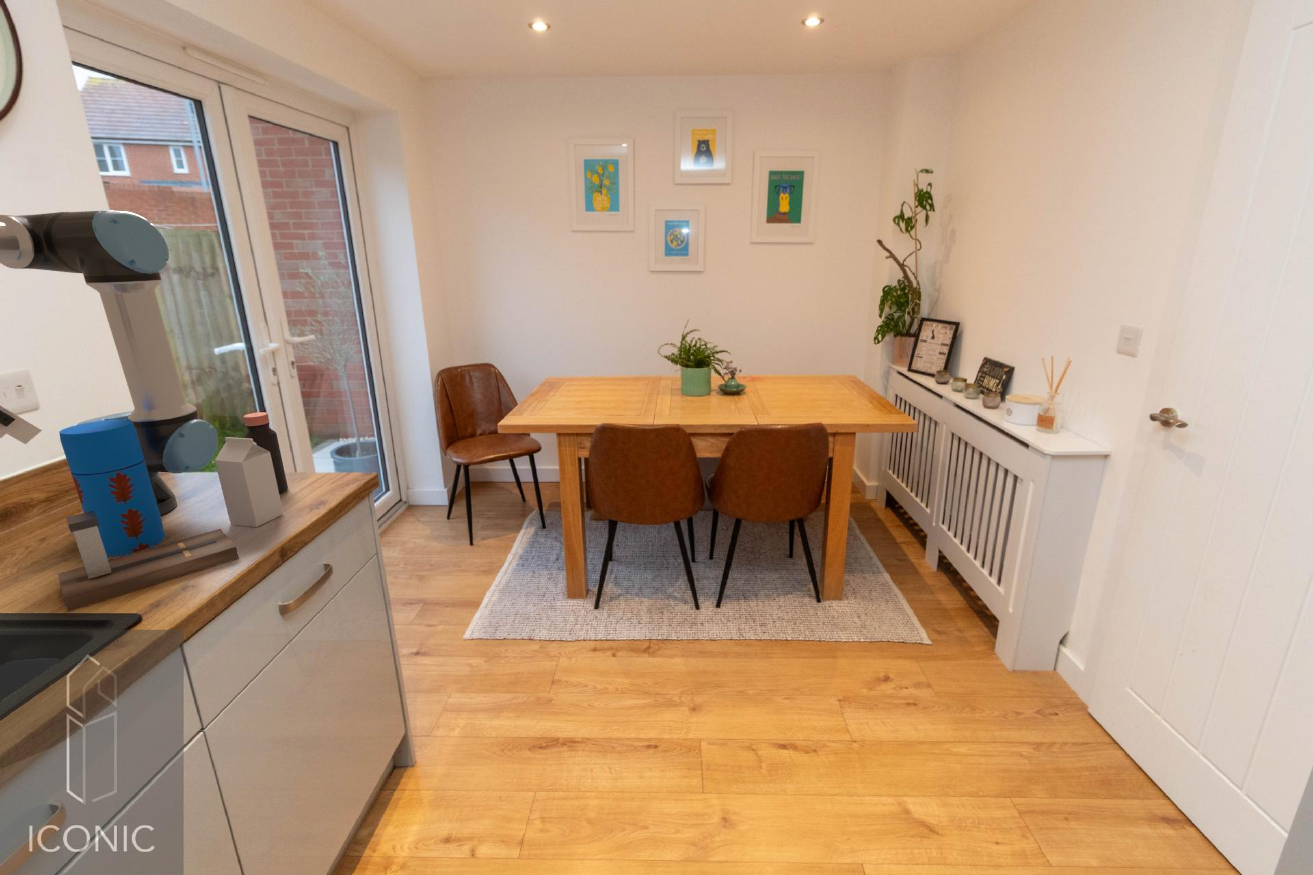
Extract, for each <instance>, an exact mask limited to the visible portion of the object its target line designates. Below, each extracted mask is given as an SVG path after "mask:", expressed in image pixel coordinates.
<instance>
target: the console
mask: <svg viewBox="0 0 1313 875" xmlns="http://www.w3.org/2000/svg"><path fill="white" fill-rule="evenodd" d="M237 559H240V557H239V553H238V549H237V546H236V545H235V543H233V541H232V540H231V539H230V538H229V537H228V536H227V534H226V533H225V532H224V531H223V530H222V529H221V528H218V529H215V530H210V531H206V532H203V533H200V534H196V535H193V536H189V537H186V538H182V539H179V540H174V541H171V542H167V543H165V544H160V545H157V546H156V545H155V546H152V547H150V548H148V549H144V550H141V551H138V552H134V553H131V554H126V555H120V556H115V557H113V558H109V559H108V562H109V565H110V568H111V571H112V572H111V573H108V574H104V575H101V576H97V577H94V578H90V579H89V578H88V575H87V572H86V569H85V566H84V565H83V566H81V567H77V568H74V569H70V570H67V571H66V570H65V571H63V572H60V573H57V576H58V579H59V586H60V589H61V595H62V600H63V602H64V604H65V607H66V610H67V612H71V611H75V610H78V609H81V608H84V607H87V606H91V605H95V604H97V603H100V602H103V601H106V600H111V599H112V598H117V597H119V596H123V595H126V594H129V593H131V592H132V593H133V592H135V591H139V590H141V589H145V588H147V587H151V586H155V585H157V584H161V583H164V582H167V581H171V580H173V579H174V580H175V579H177V578H180V577H183V576H187V575H189V574H193V573H196V572H199V571H204V570H205V569H209V568H212V567H216V566H219V565H222V564H225V563H229V562H232V561H234V560H237Z"/></svg>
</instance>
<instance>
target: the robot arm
mask: <svg viewBox="0 0 1313 875" xmlns="http://www.w3.org/2000/svg"><path fill="white" fill-rule="evenodd" d="M169 259H170V251H169V247H168V243H167V242H166V240H165V237H164V235H163V234H162V233H161V232H160V230H159V229H158V228H157V227H156V226H155V224H153V223H151V222H150V221H149V220H148V219H147V218H145V217H144V216H141V215H139V214H137V213H135V212H131V211H124V210H112V209H107V210H105V209H104V210H91V211H58V212H49V213H47V212H46V213H38V214H37V213H36V214H25V215H23V214H22V215H20V214H19V215H8V214H0V264H1V265H3V266H5V267H7V268H8V269H9V268H10V269H13V270H21V269H22V270H26V269H27V270H40V271H42V270H43V271H50V272H61V273H71V274H82V275H83V278H84V281H85V282H84V283H85V284H86V285H87V286H89V287H90V288H92V289H94V290H95V291H97V293H98V294H99V296H100V299H101V303H102V306H103V309H104V312H105V315H106V319H107V323H108V326H109V330H110V332H111V336H112V338H113V341H114V346H115V348H116V352H117V354H118V358H119V361H120V365H121V368H122V372H123V375H124V377H125V381H126V384H127V387H128V392H129V394H130V397H131V401H132V404H133V408H134V409H133V410H130V411H124V412H123V411H122V412H117V413H112V414H108V415H103V416H98V417H93V418H90V419H86V420H83V421H80V422H79V423H77V424H76V425H80V424H85V423H91V422H97V421H105V420H131V421H132V422H133V424H134V427H135V429H136V431H137V435H138V438H139V442H140V445H141V449H142V452H143V456H144V460H145V463H146V467H147V470H148V474H149V477H150V481H151V484H152V488H153V491H154V495H155V498H156V502H157V505H158V509H159V512H160V516H162V515H165V514H167V513H169V512H170V511H173V510H174V509H175V508H176V507H177V506H178V501H177V498H176V495H175V493H174V492H173V491H172V489H171V487H169V485H168V484H167V483H166V482H165V481H164V479H163V478H162V476H161V475H160V473H166V474H167V473H168V474H169V473H170V474H183V473H195V472H198V471H200V470H203V469H204V468H205V467H206V466H208V465H209V464H210V463H211V461H212V460H213V457H214V456H215V455H216V452H217V450H218V446H219V437H218V432H217V430H216V428H215V426H213V425H212V424H210V423H209V421H206V420H203V419H200V417H199V413H198V410H197V408H196V406H194V405H193V404H191V403H188V402H187V401H186V397H185V394H184V391H183V388H182V384H181V380H180V376H179V373H178V369H177V366H176V362H175V359H174V355H173V352H172V347H171V344H170V340H169V336H168V333H167V328H166V326H165V322H164V319H163V314H162V310H161V308H160V304H159V299H158V296H157V293H156V291H155V290H156V288H157V287H158V286H159V285H160V284H161V282H162V278H161V277H162V276H161V273H160V272H161V271H162V270H163V269H165V268H166V267H167V262H168V261H169ZM42 431H43V430H42V429H41V428H39V427H37V426H35V425H34V424H32V423H30V422H29V421H27V420H25V419H23V418H22V417H20V416H19V415H17V414H15V413H14V412H12V411H10V410H9V409H7V408H5V407H4V406H2V405H0V439H2V438H3V437H4V436H5V435H8V436H9V437H12V438H14V439H15V440H17V441H19V442H21V443H22V444H24V445H26V444H29V442H30V441H31V440H32V439H34V438H35V437H36V436H37V435H39V434H40V433H41V432H42Z"/></svg>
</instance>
